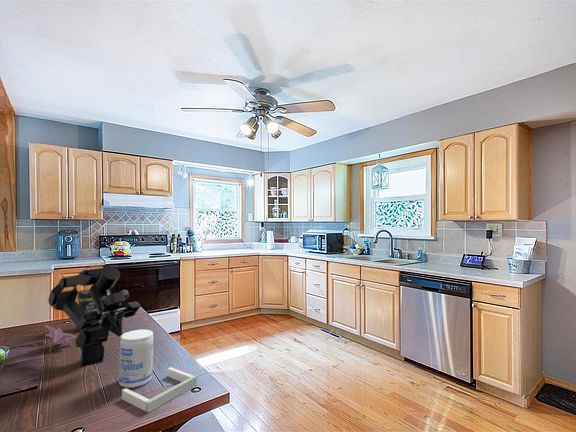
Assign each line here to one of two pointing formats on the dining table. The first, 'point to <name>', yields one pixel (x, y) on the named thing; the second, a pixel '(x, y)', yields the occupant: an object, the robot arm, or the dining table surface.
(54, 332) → the lily
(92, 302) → the coffee jar
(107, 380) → the dining table surface
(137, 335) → the supplement tub
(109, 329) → the robot arm
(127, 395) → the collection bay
